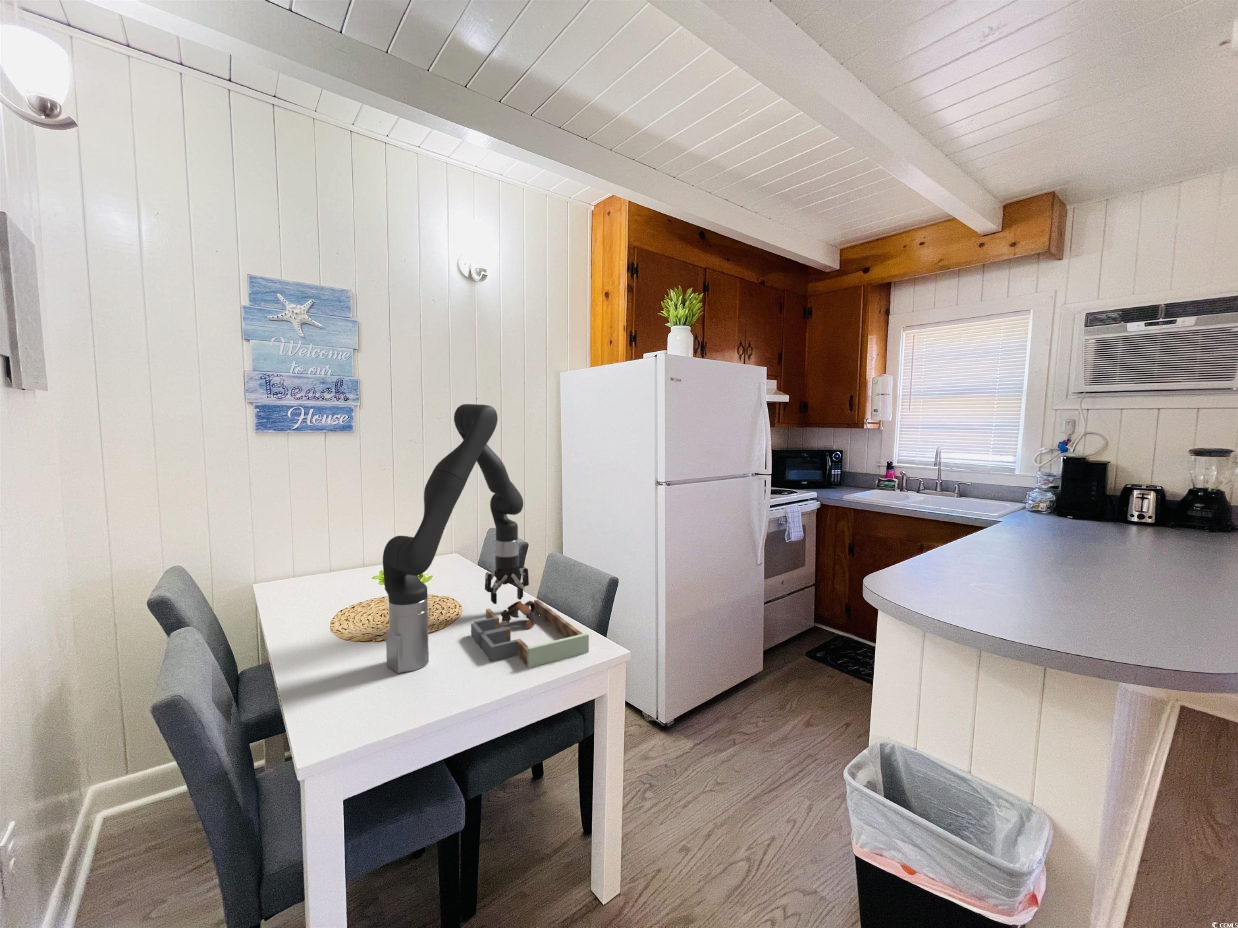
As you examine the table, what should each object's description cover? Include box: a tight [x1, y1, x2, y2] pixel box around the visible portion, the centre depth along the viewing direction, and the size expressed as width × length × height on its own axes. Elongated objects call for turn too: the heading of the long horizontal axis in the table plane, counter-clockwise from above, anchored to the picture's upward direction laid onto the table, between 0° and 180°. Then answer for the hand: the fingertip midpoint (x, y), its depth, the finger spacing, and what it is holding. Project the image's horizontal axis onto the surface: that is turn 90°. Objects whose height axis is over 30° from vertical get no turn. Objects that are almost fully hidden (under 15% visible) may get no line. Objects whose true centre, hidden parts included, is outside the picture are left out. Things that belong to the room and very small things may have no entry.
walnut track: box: [485, 599, 584, 666], centre depth 149 cm, size 34×17×4 cm, turn 32°
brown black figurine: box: [500, 600, 536, 630], centre depth 158 cm, size 12×10×8 cm
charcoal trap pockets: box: [470, 617, 518, 663], centre depth 143 cm, size 19×7×4 cm, turn 32°
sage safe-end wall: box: [526, 632, 590, 669], centre depth 135 cm, size 1×17×5 cm, turn 123°
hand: (507, 601), depth 167 cm, fingers open, 8 cm apart
